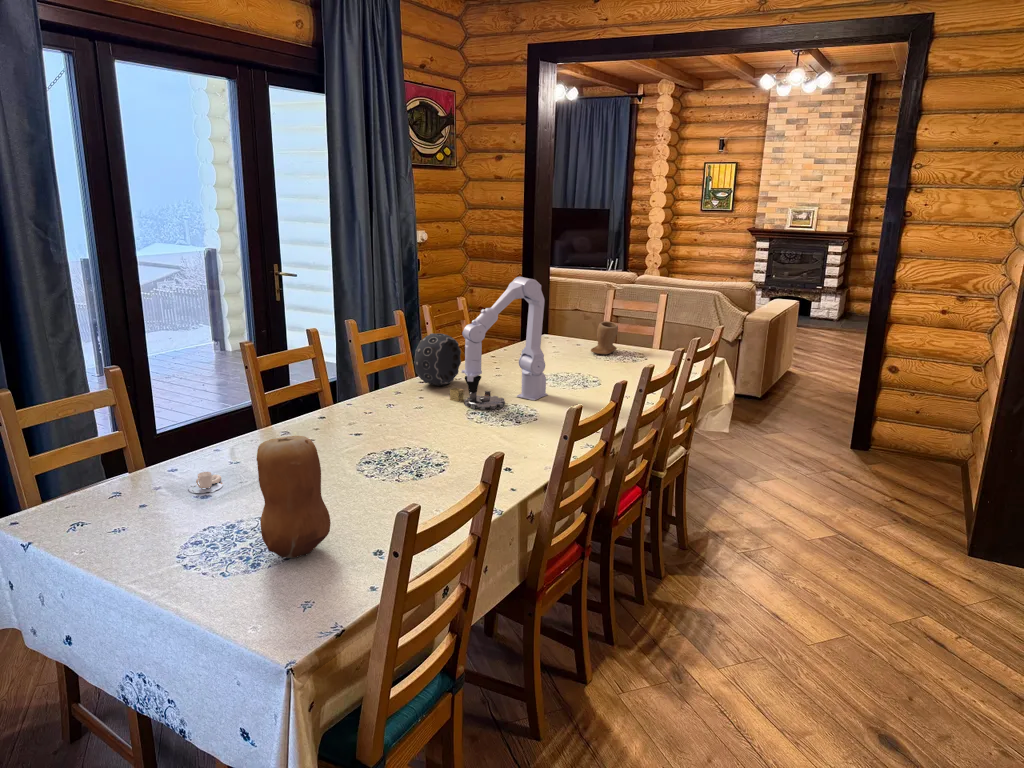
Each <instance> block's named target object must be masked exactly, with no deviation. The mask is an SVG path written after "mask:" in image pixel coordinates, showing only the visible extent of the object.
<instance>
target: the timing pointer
mask: <svg viewBox="0 0 1024 768" xmlns="http://www.w3.org/2000/svg"><path fill="white" fill-rule="evenodd" d="M491 394H492V393H491V390H485V391H484V395H489V396H492V395H491Z"/></svg>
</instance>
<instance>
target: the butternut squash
mask: <svg viewBox="0 0 1024 768" xmlns="http://www.w3.org/2000/svg"><path fill="white" fill-rule="evenodd" d="M256 452H257V453H256V462H257V463H256V464H257V475H258V481H259V482H258V483H259V488H260V491H261V494H262V496H263V499H264V500H263V501H264V505H263V509H262V512H261V517H260V532H261V538H262V541H263V543H264V544H265V546H266V548H267V551H268V552H270V553H274V554H276V555H277V556H279V557H281V558H283V559H284V558H288V559H296V558H299V557H303V556H304V557H305V556H306V557H307V555H309V554H310V553H311V552H313V551H314V549H316V547H318V546H319V544H321V542H322V541H324V540H325V539H326V538H327V536H328V535H329V534H330V530H331V516H330V513H329V510H328V508H327V506H326V504H325V502H324V500H323V496H322V468H321V462H320V458H319V454H318V452H319V451H318V450H317V447H316V445H315V443H314V442H313V440H311V439H310V438H308V437H307V436H305V435H291V436H289V435H288V436H283V437H277V438H269V439H268V440H265V441H263V442H262V443H260V444H259V445H258V447H257V451H256Z"/></svg>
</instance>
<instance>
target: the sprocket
mask: <svg viewBox="0 0 1024 768" xmlns="http://www.w3.org/2000/svg"><path fill="white" fill-rule="evenodd" d="M477 392H478V391H477ZM477 392H475V391H472V392H470V395H469V396H468V397H467V398H464V400H463V401H464V403H463V404H464V406H465V407H470V409H473V410H475V409H480V410H482V411H485V410H489V409H490V410H496V409H497V408H500V409H501V408H503V407H504V406H506V400H505V398H504V397H499V396H498V395H491V396H489V395H485V394H484V395H480V394H478V393H477Z"/></svg>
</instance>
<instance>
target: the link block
mask: <svg viewBox="0 0 1024 768" xmlns="http://www.w3.org/2000/svg"><path fill="white" fill-rule="evenodd" d="M449 400H450V401H453V402H457V403H460V402H462V401H464V400H465V390H464V388H458V387H454V388H450V389H449Z"/></svg>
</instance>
